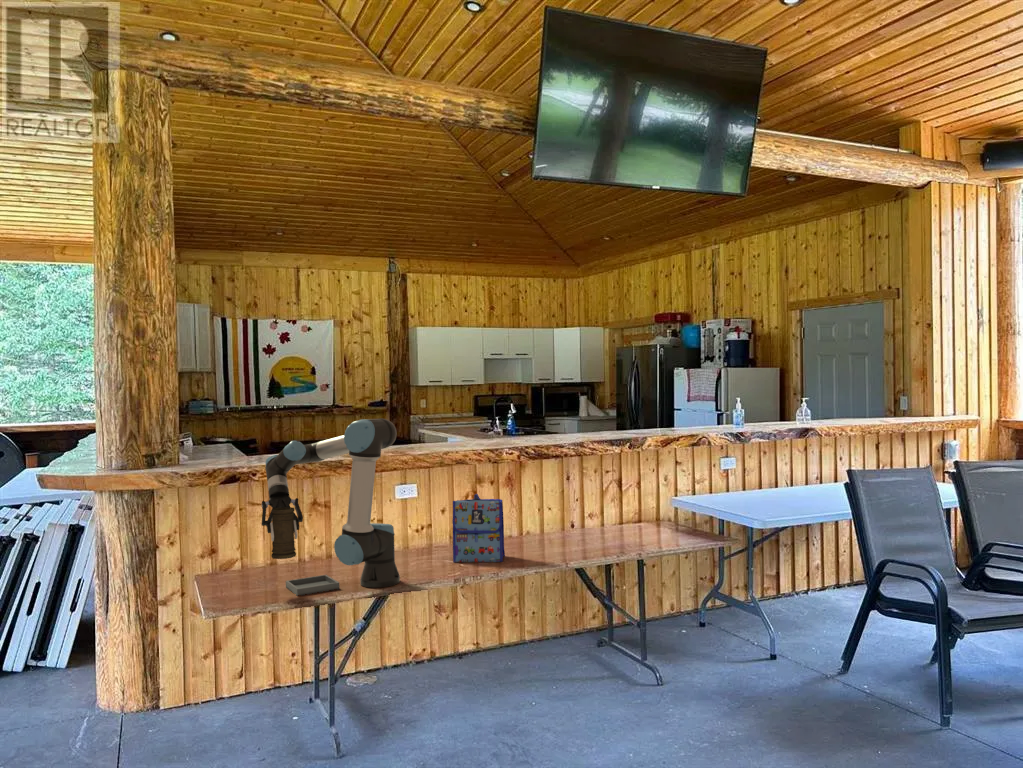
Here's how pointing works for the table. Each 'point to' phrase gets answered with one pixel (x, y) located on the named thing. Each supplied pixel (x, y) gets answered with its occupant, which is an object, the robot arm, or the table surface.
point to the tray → (312, 585)
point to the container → (283, 533)
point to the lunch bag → (478, 530)
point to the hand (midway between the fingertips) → (284, 537)
